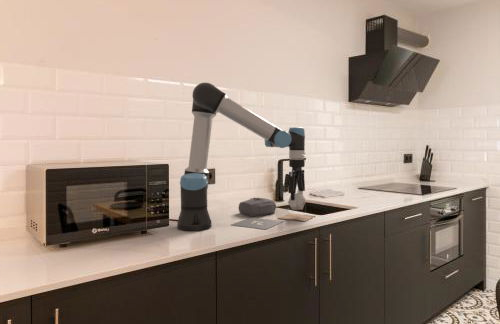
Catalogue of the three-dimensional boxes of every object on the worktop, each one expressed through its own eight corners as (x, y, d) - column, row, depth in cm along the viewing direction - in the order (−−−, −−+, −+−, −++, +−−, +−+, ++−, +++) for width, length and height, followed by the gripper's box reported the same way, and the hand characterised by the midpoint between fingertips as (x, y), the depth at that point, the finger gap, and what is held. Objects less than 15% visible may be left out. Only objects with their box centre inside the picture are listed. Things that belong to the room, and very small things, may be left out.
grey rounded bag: (253, 218, 185) (282, 213, 197) (252, 201, 185) (282, 197, 197) (235, 213, 197) (263, 209, 209) (234, 197, 196) (263, 194, 209)
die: (301, 212, 178) (310, 195, 181) (285, 203, 180) (294, 186, 182) (298, 215, 186) (307, 199, 189) (283, 206, 187) (293, 190, 190)
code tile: (265, 229, 161) (265, 229, 161) (230, 225, 170) (230, 224, 170) (283, 221, 176) (283, 221, 176) (250, 217, 185) (250, 217, 185)
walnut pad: (304, 222, 175) (304, 221, 175) (277, 218, 182) (277, 218, 182) (315, 216, 187) (315, 215, 187) (289, 213, 194) (289, 213, 194)
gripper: (295, 160, 172) (295, 209, 174) (311, 158, 190) (311, 202, 191) (280, 159, 176) (280, 208, 177) (298, 157, 194) (298, 201, 195)
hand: (296, 205), depth 184 cm, fingers closed on die, 7 cm apart
